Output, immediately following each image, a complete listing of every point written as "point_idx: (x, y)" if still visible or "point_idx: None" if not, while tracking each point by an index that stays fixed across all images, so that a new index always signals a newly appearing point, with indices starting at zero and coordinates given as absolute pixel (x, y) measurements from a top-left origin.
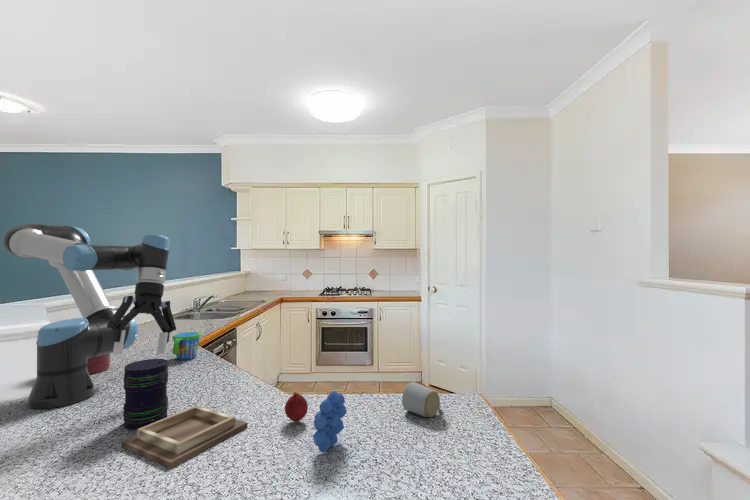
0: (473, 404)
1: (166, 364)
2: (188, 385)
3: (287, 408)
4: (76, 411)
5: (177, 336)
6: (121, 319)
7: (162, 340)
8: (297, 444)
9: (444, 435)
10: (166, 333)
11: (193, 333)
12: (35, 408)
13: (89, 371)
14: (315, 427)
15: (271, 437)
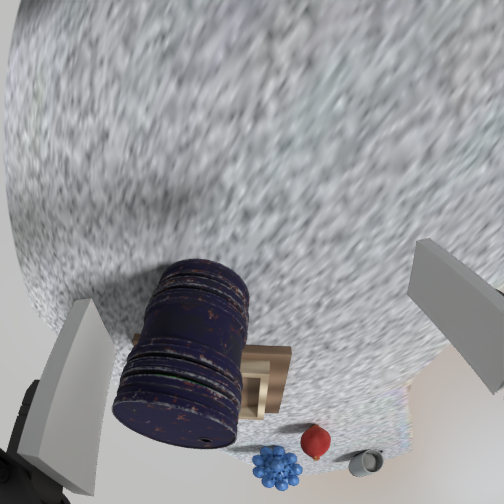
0: (388, 457)
1: (215, 445)
2: (449, 178)
3: (301, 444)
4: (120, 55)
5: None
6: None
7: (468, 330)
8: (268, 436)
9: (327, 463)
10: (492, 386)
11: None
12: None
13: None
14: (253, 469)
15: (269, 424)
